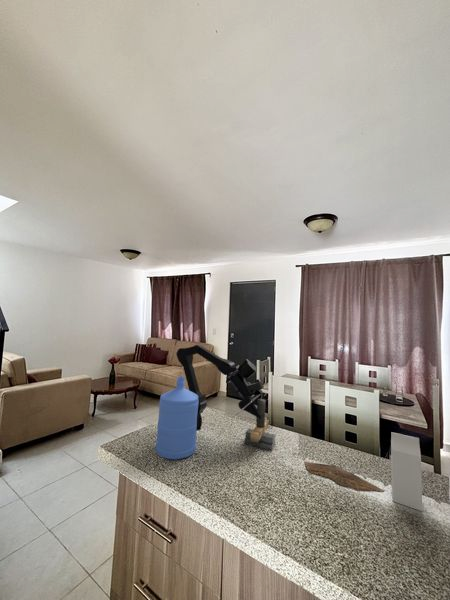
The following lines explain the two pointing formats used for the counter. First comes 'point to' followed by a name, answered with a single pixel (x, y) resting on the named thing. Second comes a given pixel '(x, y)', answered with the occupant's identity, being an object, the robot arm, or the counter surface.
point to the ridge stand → (261, 440)
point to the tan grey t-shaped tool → (260, 422)
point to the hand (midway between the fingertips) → (263, 414)
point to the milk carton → (406, 470)
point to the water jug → (177, 423)
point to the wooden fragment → (341, 476)
